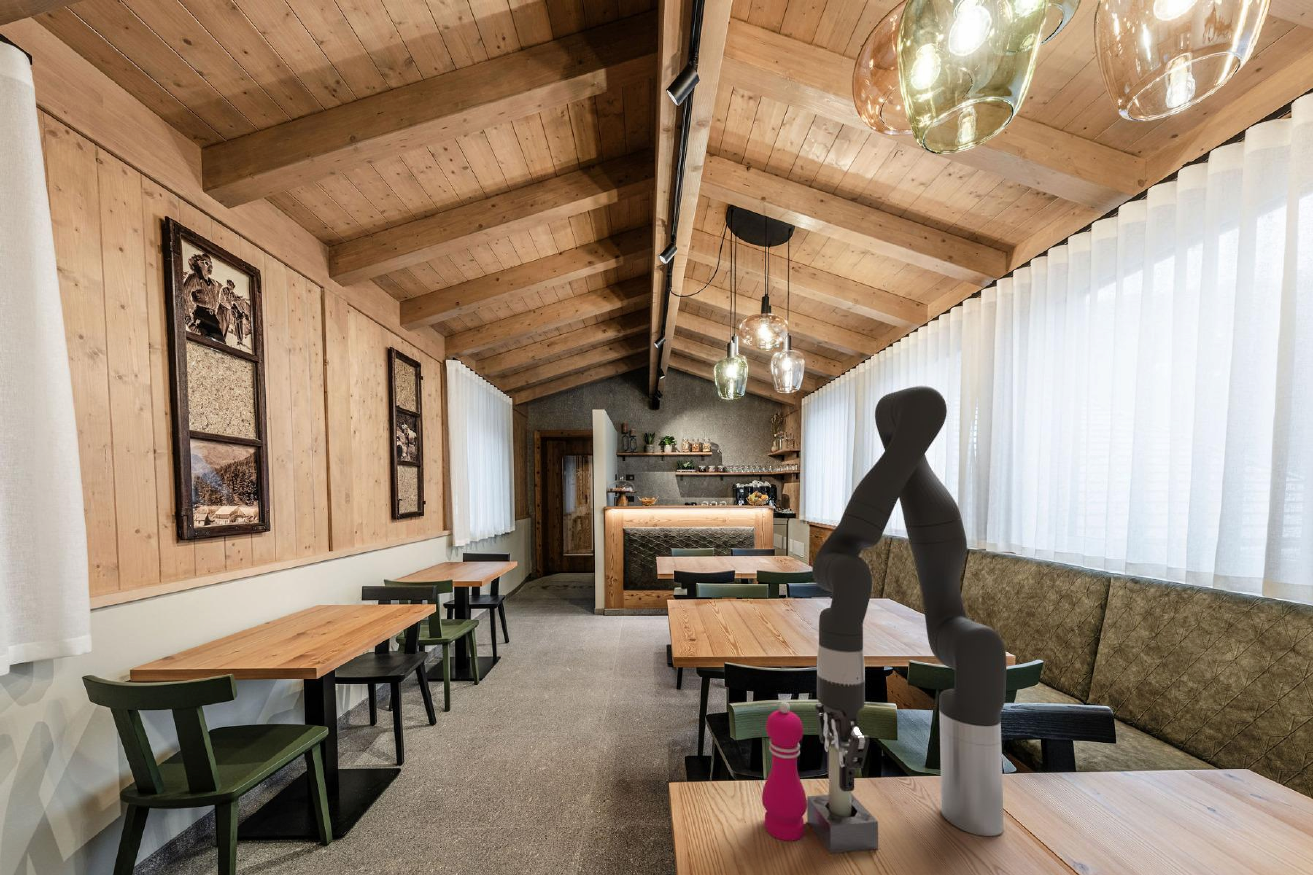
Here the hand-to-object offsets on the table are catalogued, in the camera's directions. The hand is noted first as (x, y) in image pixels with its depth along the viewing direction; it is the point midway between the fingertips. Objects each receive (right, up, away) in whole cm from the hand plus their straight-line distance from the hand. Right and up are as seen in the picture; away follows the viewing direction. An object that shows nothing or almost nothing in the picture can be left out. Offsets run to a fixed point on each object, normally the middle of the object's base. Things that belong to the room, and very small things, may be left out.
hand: (840, 782), depth 88 cm
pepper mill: (-9, -8, 0) cm, 12 cm away
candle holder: (0, -8, -1) cm, 8 cm away
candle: (0, -5, 0) cm, 5 cm away
